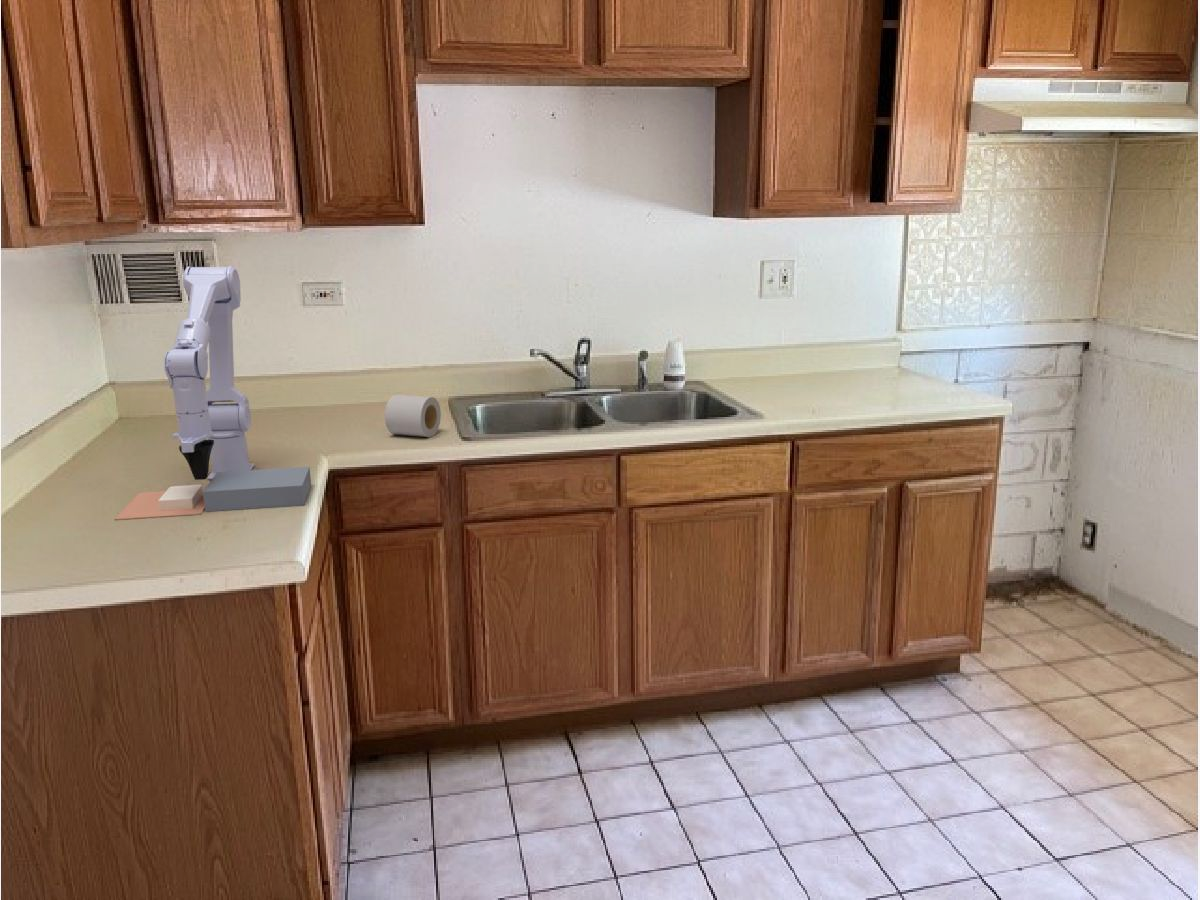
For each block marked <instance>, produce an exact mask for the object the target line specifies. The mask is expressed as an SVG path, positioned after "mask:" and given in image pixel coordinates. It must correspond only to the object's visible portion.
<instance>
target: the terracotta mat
mask: <svg viewBox="0 0 1200 900" xmlns="http://www.w3.org/2000/svg"><path fill="white" fill-rule="evenodd" d="M204 490H205V488H203V491H204ZM166 491H167V490H161V491H147V492H146V491H143V492H139V493H138V494H137V495H135V497H134V498H133V500H131V502H130V503H128V505H126V507H125V508H124V509H122V511H121V512H119V514H118V515H117V516H116V517H115V519H114V521H120V520H121V521H122V520H123V521H124V520H135V519H136V520H137V519H152V518H166V517H169V518H170V517H181V516H182V517H183V516H196V515H202V514H203V512H204V511H205V504H204V496H203V495H202V497H201V498H200V499H199V501H198V502H197V504H196V505H195V506H194V508H193V509H178V510H163V511H159V504H158V500H159V499H160V498H161V497H162V495H163V494H164V493H165V492H166Z"/></svg>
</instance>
